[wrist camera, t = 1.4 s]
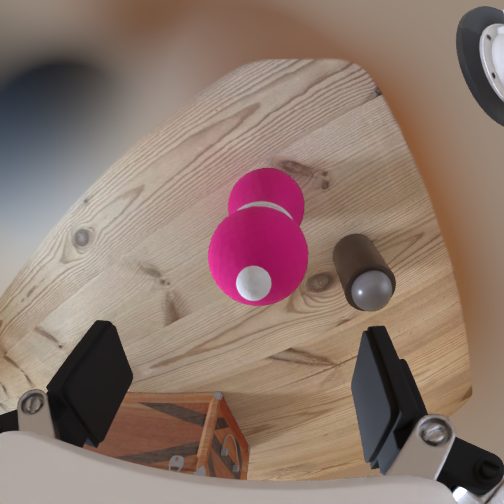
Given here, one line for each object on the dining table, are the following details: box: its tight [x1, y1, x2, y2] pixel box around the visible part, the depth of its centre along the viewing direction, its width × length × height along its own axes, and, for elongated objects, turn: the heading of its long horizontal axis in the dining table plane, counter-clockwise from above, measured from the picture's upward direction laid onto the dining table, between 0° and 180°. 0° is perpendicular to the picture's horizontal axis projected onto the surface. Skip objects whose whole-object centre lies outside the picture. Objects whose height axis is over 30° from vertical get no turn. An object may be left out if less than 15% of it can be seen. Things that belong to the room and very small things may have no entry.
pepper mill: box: [208, 168, 308, 306], centre depth 24 cm, size 7×7×20 cm
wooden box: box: [83, 392, 250, 480], centre depth 44 cm, size 20×41×20 cm, turn 104°
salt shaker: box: [333, 234, 396, 311], centre depth 30 cm, size 5×5×10 cm
